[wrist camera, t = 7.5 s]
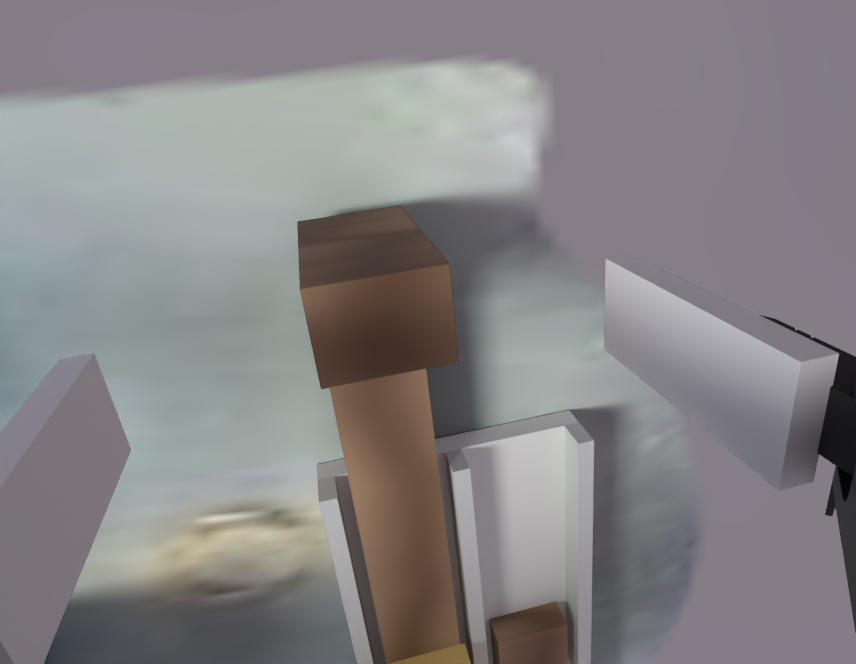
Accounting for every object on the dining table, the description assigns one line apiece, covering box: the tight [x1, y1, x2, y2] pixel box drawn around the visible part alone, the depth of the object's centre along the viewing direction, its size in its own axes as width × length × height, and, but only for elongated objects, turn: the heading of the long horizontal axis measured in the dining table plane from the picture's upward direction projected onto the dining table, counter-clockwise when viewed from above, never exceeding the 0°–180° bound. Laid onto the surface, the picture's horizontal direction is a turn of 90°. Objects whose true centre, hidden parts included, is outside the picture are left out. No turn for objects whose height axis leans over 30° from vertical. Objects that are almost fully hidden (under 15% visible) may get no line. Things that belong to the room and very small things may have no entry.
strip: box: [298, 206, 460, 664], centre depth 25 cm, size 4×30×8 cm, turn 6°
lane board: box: [317, 410, 594, 664], centre depth 34 cm, size 13×28×3 cm, turn 6°
